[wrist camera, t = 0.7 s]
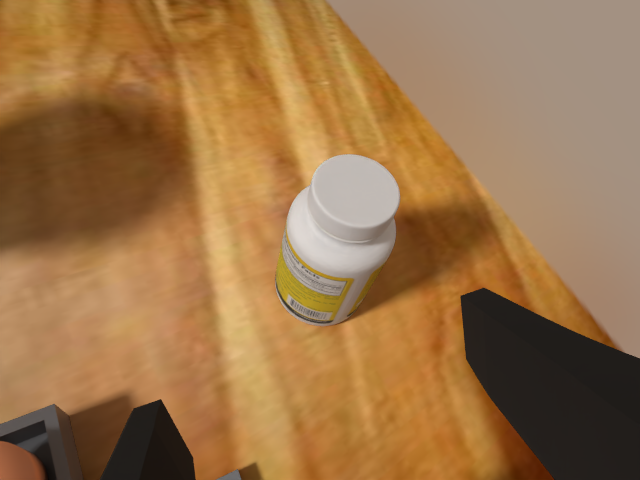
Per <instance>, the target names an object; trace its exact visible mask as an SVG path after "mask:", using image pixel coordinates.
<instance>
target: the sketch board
mask: <svg viewBox="0 0 640 480" xmlns="http://www.w3.org/2000/svg"><path fill="white" fill-rule="evenodd" d="M216 480H241V477H240V474H239V471H238V469H237V470H235V471H233V472H231V473H229V474H227V475H225V476H223V477H221V478H218V479H216Z"/></svg>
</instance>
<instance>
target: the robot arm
mask: <svg viewBox="0 0 640 480" xmlns="http://www.w3.org/2000/svg"><path fill="white" fill-rule="evenodd" d="M461 307H462V318H463V329H464V340H465V351H466V359H467V361H468V363H469V364H470V366H471V368H472V369H473V371H474V373H475V375H476V376H477V378H478V380H479V381H480V383H481V384H482V386H483V388H484V389H485V391H486V392H487V394H488V395H489V397H490V398H491V399H492V401H493V402H494V403H495V405H496V406H497V407H498V408H499V410H500V411H501V412H502V413H503V415H504V416H505V417H506V419H507V420H508V421H509V422H510V424H511V425H512V426H513V427H514V429H515V430H516V431H517V432H518V434H519V435H520V436H521V438H522V439H523V440H524V441H525V443H526V444H527V445H528V446H529V448H530V449H531V450H532V451H533V453H534V454H535V455H536V456H537V458H538V459H539V460H540V461H541V463H542V464H543V465H544V466H545V468H546V469H547V470H548V471H549V473H550V474H551V475H552V477H553V478H554V479H555V480H640V358H637V357H634V356H632V355H629V354H626V353H624V352H621V351H619V350H616V349H614V348H611V347H609V346H607V345H604V344H602V343H599V342H597V341H594V340H592V339H590V338H587V337H585V336H583V335H581V334H578V333H576V332H574V331H572V330H569V329H567V328H565V327H563V326H561V325H559V324H557V323H554V322H552V321H550V320H548V319H546V318H544V317H542V316H540V315H538V314H536V313H534V312H532V311H530V310H528V309H526V308H524V307H522V306H520V305H518V304H516V303H514V302H512V301H510V300H508V299H506V298H504V297H502V296H500V295H498V294H496V293H494V292H492V291H490V290H488V289H486V288H482V289H479V290H476V291H473V292H470V293H467V294H465V295H462V296H461ZM100 480H196V479H195V471H194V463H193V457H192V455H191V453H190V451H189V449H188V448H187V446H186V444H185V442H184V440H183V439H182V437H181V435H180V433H179V431H178V429H177V428H176V426H175V424H174V422H173V420H172V418H171V417H170V415H169V413H168V411H167V409H166V407H165V406H164V404H163V402H162V400H161V399H160V400H157V401H155V402H152V403H149V404H146V405H143V406H140V407H137V408H134V409H133V411H132V413H131V415H130V417H129V419H128V421H127V423H126V425H125V427H124V429H123V432H122V434H121V436H120V438H119V440H118V442H117V445H116V447H115V449H114V451H113V453H112V455H111V457H110V460H109V462H108V464H107V466H106V468H105V470H104V472H103V474H102V476H101V478H100Z"/></svg>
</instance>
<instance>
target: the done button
mask: <svg viewBox="0 0 640 480" xmlns="http://www.w3.org/2000/svg"><path fill="white" fill-rule="evenodd" d="M0 480H48V475H47V471H46V468H45V466H44V464H43V463H42V461H41V460H40V459H39V458H38V457H37V456H36V455H35V454H33V453H31V452H29V451H27V450H25V449H23V448H20V447H18V446H16V445H14V444H11V443H8V442H4V441H0Z"/></svg>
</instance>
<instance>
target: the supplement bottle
mask: <svg viewBox="0 0 640 480" xmlns="http://www.w3.org/2000/svg"><path fill="white" fill-rule="evenodd" d="M399 203H400V192H399V188H398V185H397V182H396V181H395V179H394V177H393V176H392V175H391V173H390V172H389V171H388V170H387V169H386V168H385V167H383V166H382V165H381V164H379V163H378V162H376V161H374V160H372V159H369V158H367V157H364V156H360V155H351V154H346V155H339V156H335V157H332V158H330V159H328V160H326V161H324V162H323V163H322V164H321V165H320V166H319V167H318V168H317V170H316V171H315V173H314V175H313V178H312V181H311V185H309V186H308V187H306V188H305V189H304V190H303V191H301V192H300V193H299V194H298V196H297V197H296V198H295V200H294V201H293V203H292V205H291V207H290V210H289V214H288V217H287V221H286V226H285V231H284V236H283V241H282V245H281V250H280V255H279V260H278V264H277V270H276V277H275V286H276V291H277V295H278V297H279V299H280V301H281V303H282V305H283V306H284V308H285V309H286V310H287V311H288V312H289V313H290V314H291V315H292V316H294V317H295V318H297V319H298V320H300V321H302V322H305V323H307V324H311V325H315V326H329V325H334V324H337V323H340V322H342V321H344V320H346V319H347V318H349V317H350V316H351V315H352V314H353V313H354V312H355V311H356V310H357V308H358V307H359V305H360V304H361V302H362V301H363V299H364V297H365V296H366V294H367V292H368V291H369V289H370V287H371V286H372V284H373V282H374V281H375V279H376V277H377V276H378V274H379V273H380V271H381V269H382V268H383V266H384V264H385V263H386V261H387V259H388V257H389V255H390V253H391V252H392V249H393V247H394V244H395V239H396V225H395V220H394V215H395V213H396V211H397V209H398V207H399Z"/></svg>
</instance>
